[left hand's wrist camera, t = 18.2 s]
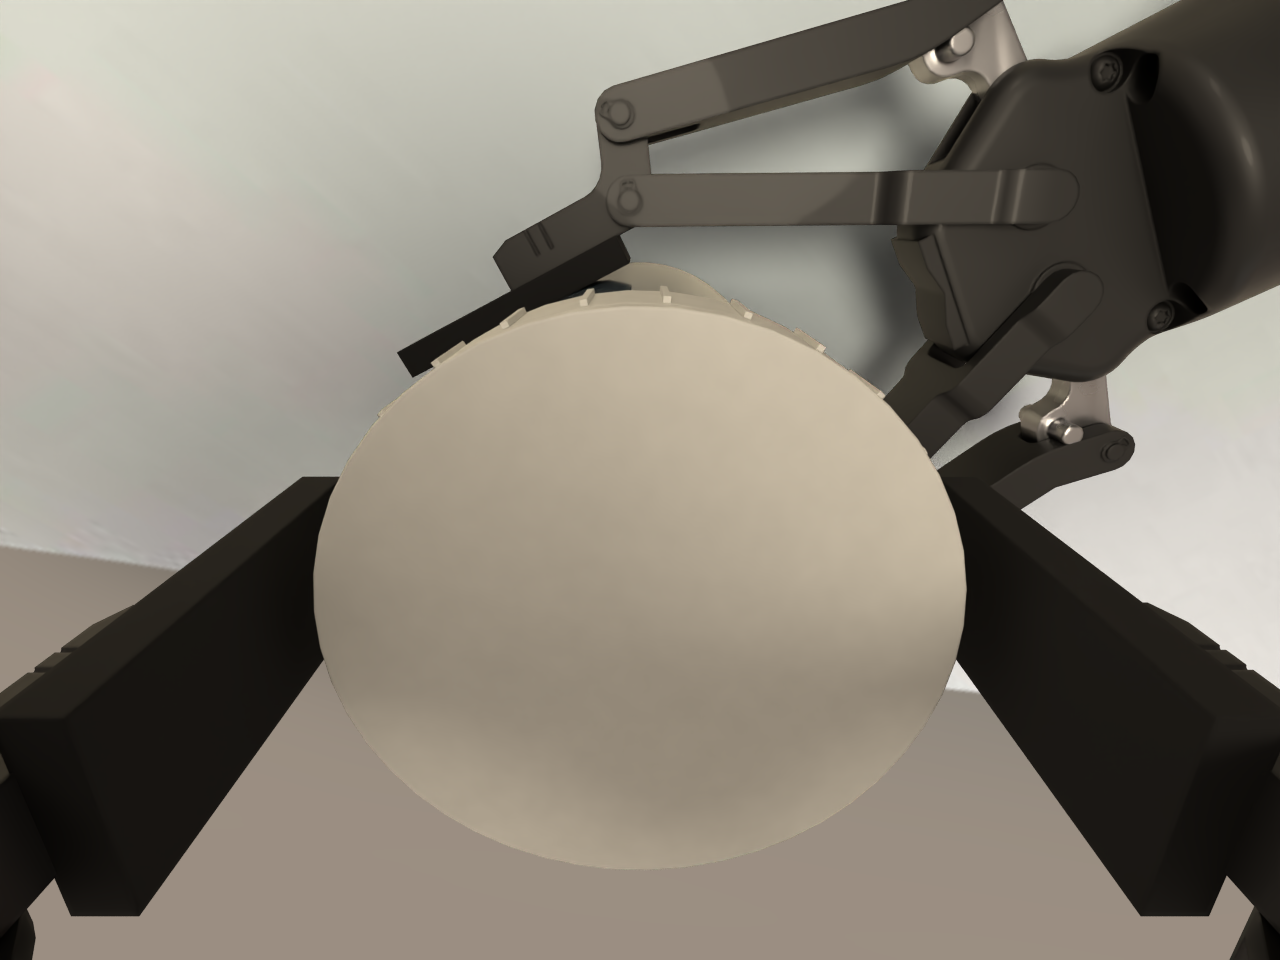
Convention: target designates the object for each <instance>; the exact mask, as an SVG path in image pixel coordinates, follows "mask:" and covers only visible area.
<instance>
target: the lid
mask: <svg viewBox="0 0 1280 960" xmlns="http://www.w3.org/2000/svg"><path fill="white" fill-rule="evenodd" d="M825 349H826V347H825V346H824V345H822V344H821V343H819V342H818V341H816V340H815V339H813V338H812V337H810V336H809V335H807V334H806V333H805V332H803V331H802V330H800V329H798V328H796V329H795V331H794V332H792V331H791V330H789V329H787V328H786V327H784V326H782V325H780V324H778V323H775V322H773V321H771V320H769V319H767V318H765V317H763V316H760V315H758V314H756V313H754V312H752V311H750V310H749V309H747V308H746V307H745V306H744V305H743V304H741V303H740V302H739V301H737V300H734V299H732V300H731V302H730V304H727V303H724V302H721V301H718V300H715V299H711V298H706V297H700V296H694V295H688V294H682V293H676V292H670V291H669V290H668V287H667V286H660V291H638V290H625V291H615V292H606V293H597V294H595V291H594V288H593V289H587V291H586V292H585V293H584V294H583V296H579V297H575V298H571V299H567V300H563V301H559V302H555V303H551V304H547V305H544V306H541V307H539V308H536V309H534V310H531V311H529V312H526V310H525V308H524V307H523V308H521V309H518V310H517V311H516V312H514V313H513V314H512V315H510V316H509V317H507V318H506V319H505V320H503V321H502V322H501V323H500V325H498V326H497V327H495V328H493V329H491V330H490V331H488V332H486V333H484V334H483V335H481V336H479V337H478V338H476V339H474V340H473V341H471V342H470V343H468V344H467V345H466V344H465V343H464V341H462V342H460V343H459V344H457V345H456V346H454V347H453V348H451V349H450V350H448V351H447V352H446V353H444V354H443V355H441V356H440V357H438V358H437V359H435V360H434V361H433V362H431V364H432V365H433V366H434V369H433V370H432V371H430V372H429V373H428V374H427V375H425V376H424V377H423V378H421V379H420V380H419V381H418V382H416V383H415V384H414V385H413V386H411V387H410V388H409V389H407V390H406V391H405V392H404V393H402V394H401V396H400V397H398V398H397V399H396V400H394V401H393V402H392V403H390V404H389V405H387V406H386V407H385V408H383V409H382V410H381V411H380V412H379V413H378V416H379V417H380V418H379V419H378V420H377V421H376V422H375V423H374V424H373V425H372V426H371V428H370V429H369V431H368V432H367V434H366V435H365V436H364V438H363V439H362V441H361V442H360V444H359V445H358V447H357V448H356V449H355V451H354V452H353V454H352V455H351V457H350V458H349V460H348V461H347V463H346V465H345V467H344V470H343V472H342V474H341V476H340V478H339V480H338V482H337V484H336V486H335V488H334V490H333V492H332V494H331V496H330V499H329V502H328V506H327V509H326V512H325V516H324V519H323V522H322V526H321V529H320V532H319V536H318V543H317V551H316V558H315V565H314V572H313V582H314V614H315V620H316V626H317V632H318V638H319V644H320V648H321V652H322V655H323V658H324V661H325V664H326V667H327V670H328V673H329V676H330V679H331V682H332V684H333V686H334V688H335V690H336V692H337V694H338V696H339V698H340V700H341V702H342V704H343V707H344V708H345V711H346V713H347V714H348V716H349V717H350V719H351V720H352V722H353V723H354V725H355V726H356V728H357V729H358V731H359V732H360V734H361V735H362V737H363V738H364V740H365V741H366V743H367V744H368V745H369V747H370V748H371V749H372V750H373V751H374V752H375V753H376V755H377V756H378V757H379V758H380V759H381V760H382V761H383V763H384V764H385V765H386V766H387V767H388V768H389V770H390V771H391V772H393V773H394V774H395V775H396V776H397V777H398V778H399V779H400V780H401V781H402V782H404V783H405V784H406V785H407V786H408V787H409V788H410V789H411V790H412V791H414V792H415V793H416V794H417V795H418V796H420V797H421V798H422V799H424V800H425V801H427V802H428V803H429V804H431V805H432V806H434V807H435V808H436V809H438V810H439V811H441V812H442V813H443V814H445V815H446V816H448V817H450V818H452V819H453V820H455V821H457V822H459V823H460V824H462V825H464V826H466V827H468V828H469V829H471V830H473V831H475V832H476V833H479V834H481V835H483V836H486V837H488V838H490V839H493V840H495V841H497V842H500V843H502V844H504V845H506V846H509V847H512V848H515V849H518V850H521V851H524V852H527V853H530V854H533V855H537V856H540V857H543V858H548V859H552V860H556V861H561V862H566V863H571V864H575V865H581V866H590V867H598V868H607V869H621V870H658V869H671V868H684V867H691V866H697V865H703V864H708V863H714V862H720V861H724V860H728V859H732V858H735V857H739V856H743V855H746V854H750V853H753V852H757V851H759V850H762V849H765V848H767V847H770V846H772V845H775V844H778V843H780V842H783V841H785V840H788V839H790V838H792V837H794V836H796V835H798V834H800V833H802V832H804V831H806V830H808V829H810V828H812V827H814V826H816V825H818V824H820V823H822V822H823V821H825V820H826V819H828V818H829V817H831V816H832V815H834V814H836V813H837V812H839V811H840V810H842V809H843V808H845V807H846V806H848V805H849V804H851V803H852V802H853V801H855V800H856V799H857V798H858V797H860V796H861V795H862V794H863V793H864V792H865V791H867V790H868V789H869V788H870V787H872V786H873V785H874V784H875V783H877V782H878V781H879V780H880V779H881V778H882V777H883V776H884V775H885V774H886V773H887V772H888V771H889V769H890V768H891V767H892V766H893V765H894V764H895V763H896V762H897V761H898V760H899V759H900V758H901V757H902V756H903V755H904V754H905V752H906V751H907V749H908V748H909V747H910V746H911V744H912V743H913V741H914V740H915V739H916V737H917V736H918V735H919V733H920V732H921V731H922V729H923V728H924V727H925V725H926V723H927V722H928V720H929V718H930V716H931V714H932V713H933V711H934V709H935V707H936V705H937V704H938V702H939V700H940V698H941V696H942V695H943V692H944V689H945V687H946V684H947V682H948V679H949V677H950V674H951V672H952V669H953V666H954V664H955V661H956V657H957V653H958V648H959V644H960V640H961V635H962V631H963V627H964V616H965V603H966V591H967V588H966V574H965V561H964V549H963V545H962V541H961V537H960V532H959V528H958V524H957V520H956V515H955V512H954V509H953V507H952V504H951V502H950V499H949V497H948V495H947V492H946V490H945V487H944V485H943V482H942V480H941V477H940V475H939V473H938V472H937V470H936V468H935V467H934V465H933V463H932V462H931V460H930V458H929V457H928V455H927V454H928V453H927V451H926V449H925V448H924V447H923V446H922V445H921V444H920V442H919V440H918V439H917V438H916V436H915V435H914V434H913V433H912V432H911V430H910V429H909V428H908V427H907V426H906V424H905V423H904V422H903V421H902V420H901V419H900V417H899V416H898V415H897V414H896V413H895V411H894V410H893V409H892V408H891V407H890V406H889V405H888V404H887V403H886V402H885V401H884V400H883V398H884V397H885V395H884V394H883V393H882V391H880V390H879V389H877V388H876V387H875V386H873V385H872V384H870V383H869V382H868V381H866V380H865V379H863V378H862V377H861V376H859V375H858V374H856V373H855V372H854V371H852V370H851V369H850V370H849V371H848V370H847V369H846V368H844V367H843V366H842V365H840V364H839V363H837V362H836V361H835V360H833V359H832V358H831V357H829V356H828V355H826V354H825V353H824V351H825Z"/></svg>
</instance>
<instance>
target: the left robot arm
mask: <svg viewBox="0 0 1280 960" xmlns="http://www.w3.org/2000/svg"><path fill="white" fill-rule="evenodd" d="M339 478H340V477H302V478H300V479H299V480H298V481H296V482H295V483H294V484H292V485H291V486H290V487H289V488H287V489H286V490H285V491H283V492H282V493H281V494H279V495H278V496H277V497H275V498H274V499H273V500H271V501H270V502H269V503H268V504H266V505H265V506H264V507H262V508H261V509H260V510H258V511H257V512H256V513H254V514H253V515H252V516H250V517H249V518H248V519H247V520H245V521H244V522H243V523H241V524H240V525H239V526H237V527H236V528H235V529H233V530H232V531H231V532H229V533H228V534H227V535H226V536H224V537H223V538H222V539H220V540H219V541H218V542H216V543H215V544H214V545H212V546H211V547H210V548H208V549H207V550H206V551H205V552H203V553H202V554H201V555H199V556H198V557H197V558H195V559H194V560H193V561H191V562H190V563H189V564H187V565H186V566H185V567H184V568H182V569H181V570H180V571H178V572H177V573H176V574H174V575H173V576H172V577H170V578H169V579H168V580H166V581H165V582H164V583H163V584H161V585H160V586H159V587H157V588H156V589H155V590H153V591H152V592H151V593H149V594H148V595H147V596H145V597H144V598H143V599H142V600H140V601H139V602H138V603H136V604H135V605H132V606H130V607H128V608H126V609H124V610H122V611H120V612H118V613H116V614H114V615H112V616H110V617H107V618H105V619H103V620H101V621H99V622H97V623H95V624H93V625H92V626H90V627H89V628H87V629H86V630H85V631H83V632H82V633H81V634H79V635H78V636H77V637H75V638H74V639H73V640H71V641H70V642H69V643H67V644H66V645H65V646H63V647H62V648H61V652H60V653H54V654H52V655H51V656H50V657H48V658H47V659H46V660H44V661H43V662H42V663H40V664H39V665H38V666H36V667H35V671H34V672H33V673H27V674H25V675H24V676H23V677H21V678H20V679H19V680H17V681H16V682H15V683H13V684H12V685H11V686H9V687H8V688H6V689H5V690H4V691H2V692H1V693H0V960H32V956H33V951H34V945H35V939H36V937H35V931H34V925H33V921H32V919H31V917H30V915H29V913H28V910H27V908H28V907H29V906H30V905H31V904H32V903H33V901H34V900H35V899H36V898H37V897H38V896H39V895H40V894H41V893H42V891H43V890H44V889H45V888H46V887H47V886H48V885H49V883H50V882H51V881H52V880H53V879H54V878H55V880H56V883H57V885H58V887H59V890H60V892H61V894H62V897H63V899H64V901H65V903H66V906H67V908H68V910H69V913H70V915H71V916H140V914H141V913H142V912H143V910H144V909H145V908H146V906H147V905H148V903H149V902H150V900H151V899H152V898H153V896H154V895H155V894H156V892H157V891H158V889H159V888H160V887H161V885H162V884H163V882H164V881H165V880H166V878H167V877H168V876H169V874H170V873H171V871H172V870H173V869H174V867H175V866H176V864H177V863H178V862H179V860H180V859H181V857H182V856H183V854H184V853H185V852H186V850H187V849H188V848H189V846H190V845H191V844H192V842H193V841H194V839H195V838H196V837H197V835H198V834H199V832H200V831H201V830H202V828H203V827H204V825H205V824H206V823H207V821H208V820H209V818H210V817H211V816H212V814H213V813H214V812H215V810H216V809H217V807H218V806H219V805H220V803H221V802H222V800H223V799H224V798H225V796H226V795H227V793H228V792H229V791H230V789H231V788H232V787H233V785H234V784H235V782H236V781H237V780H238V778H239V777H240V775H241V774H242V773H243V771H244V770H245V768H246V767H247V766H248V764H249V763H250V761H251V760H252V759H253V757H254V756H255V755H256V753H257V752H258V750H259V749H260V747H261V746H262V745H263V743H264V742H265V741H266V739H267V738H268V736H269V735H270V734H271V732H272V731H273V729H274V728H275V727H276V725H277V724H278V722H279V721H280V720H281V718H282V717H283V716H284V714H285V713H286V711H287V710H288V709H289V707H290V706H291V704H292V703H293V702H294V700H295V699H296V697H297V696H298V695H299V693H300V692H301V691H302V689H303V688H304V686H305V685H306V684H307V682H308V681H309V679H310V678H311V677H312V675H313V674H314V672H315V671H316V670H317V668H318V667H319V665H320V664H321V663H322V661H323V660H324V658H323V655H322V652H321V648H320V644H319V638H318V632H317V626H316V620H315V614H314V582H313V572H314V565H315V558H316V551H317V543H318V536H319V532H320V529H321V526H322V522H323V519H324V516H325V512H326V509H327V506H328V502H329V499H330V496H331V494H332V492H333V490H334V488H335V486H336V484H337V482H338V480H339ZM941 480H942V482H943V485H944V487H945V490H946V492H947V495H948V497H949V499H950V502H951V504H952V507H953V509H954V512H955V515H956V520H957V524H958V528H959V532H960V537H961V541H962V545H963V549H964V561H965V574H966V588H967V591H966V603H965V616H964V627H963V631H962V635H961V640H960V644H959V648H958V653H957V657H956V660H957V661H958V663H959V664H960V665H961V667H962V668H963V670H964V671H965V672H966V674H967V675H968V677H969V678H970V679H971V681H972V682H973V684H974V685H975V686H976V688H977V689H978V691H979V692H980V693H981V695H982V696H983V697H984V699H985V700H986V702H987V703H988V704H989V706H990V707H991V709H992V710H993V711H994V713H995V714H996V716H997V717H998V718H999V720H1000V721H1001V723H1002V724H1003V725H1004V727H1005V728H1006V729H1007V731H1008V732H1009V734H1010V735H1011V736H1012V738H1013V739H1014V741H1015V742H1016V743H1017V745H1018V746H1019V747H1020V749H1021V750H1022V752H1023V753H1024V755H1025V756H1026V757H1027V759H1028V760H1029V761H1030V763H1031V764H1032V766H1033V767H1034V768H1035V770H1036V771H1037V773H1038V774H1039V775H1040V777H1041V778H1042V780H1043V781H1044V782H1045V784H1046V785H1047V786H1048V788H1049V789H1050V791H1051V792H1052V793H1053V795H1054V796H1055V798H1056V799H1057V800H1058V802H1059V803H1060V805H1061V806H1062V807H1063V809H1064V810H1065V812H1066V813H1067V814H1068V816H1069V817H1070V818H1071V820H1072V821H1073V823H1074V824H1075V825H1076V827H1077V828H1078V830H1079V831H1080V832H1081V834H1082V835H1083V837H1084V838H1085V839H1086V841H1087V842H1088V844H1089V845H1090V846H1091V848H1092V849H1093V850H1094V852H1095V853H1096V855H1097V856H1098V857H1099V859H1100V860H1101V862H1102V863H1103V864H1104V866H1105V867H1106V869H1107V870H1108V871H1109V873H1110V874H1111V876H1112V877H1113V878H1114V880H1115V881H1116V882H1117V884H1118V885H1119V887H1120V888H1121V889H1122V891H1123V892H1124V894H1125V895H1126V896H1127V898H1128V899H1129V901H1130V902H1131V903H1132V905H1133V906H1134V907H1135V909H1136V910H1137V912H1138V913H1139V914H1140V916H1209V915H1210V913H1211V910H1212V908H1213V906H1214V903H1215V901H1216V899H1217V897H1218V894H1219V892H1220V890H1221V887H1222V885H1223V883H1224V880H1225V878H1226V876H1228V877H1229V878H1230V879H1231V881H1232V882H1233V883H1234V884H1235V885H1236V886H1237V887H1238V888H1239V889H1240V891H1241V892H1242V893H1243V894H1244V895H1245V896H1246V897H1247V898H1248V900H1249V901H1250V902H1251V903H1252V904H1253V905H1254V908H1253V910H1252V913H1251V915H1250V917H1249V919H1248V921H1247V923H1246V926H1245V928H1244V930H1243V932H1242V934H1241V936H1240V938H1239V941H1238V943H1237V945H1236V947H1235V949H1234V951H1233V954H1232V956H1231V958H1230V960H1280V689H1279V688H1277V687H1276V686H1274V685H1273V684H1272V683H1270V682H1269V681H1268V680H1266V679H1265V678H1264V677H1262V676H1261V675H1260V674H1258V673H1257V672H1255V671H1254V670H1247V668H1246V664H1245V663H1243V662H1242V661H1240V660H1239V659H1238V658H1236V657H1235V656H1234V655H1232V654H1231V653H1230V652H1228V651H1227V650H1220V645H1219V644H1217V643H1216V642H1215V641H1213V640H1212V639H1210V638H1209V637H1208V636H1206V635H1205V634H1204V633H1202V632H1201V631H1200V630H1198V629H1197V628H1195V627H1194V626H1193V625H1191V624H1190V623H1189V622H1187V621H1185V620H1183V619H1181V618H1179V617H1176V616H1174V615H1172V614H1170V613H1168V612H1166V611H1164V610H1162V609H1160V608H1158V607H1156V606H1154V605H1151V604H1149V603H1142V602H1141V601H1140V600H1138V599H1137V598H1136V597H1135V596H1133V595H1132V594H1131V593H1129V592H1128V591H1127V590H1125V589H1124V588H1123V587H1121V586H1120V585H1119V584H1117V583H1116V582H1115V581H1114V580H1112V579H1111V578H1110V577H1108V576H1107V575H1106V574H1104V573H1103V572H1102V571H1100V570H1099V569H1098V568H1096V567H1095V566H1094V565H1093V564H1091V563H1090V562H1089V561H1087V560H1086V559H1085V558H1083V557H1082V556H1081V555H1079V554H1078V553H1077V552H1075V551H1074V550H1073V549H1072V548H1070V547H1069V546H1068V545H1066V544H1065V543H1064V542H1062V541H1061V540H1060V539H1058V538H1057V537H1056V536H1054V535H1053V534H1052V533H1051V532H1049V531H1048V530H1047V529H1045V528H1044V527H1043V526H1041V525H1040V524H1039V523H1037V522H1036V521H1035V520H1033V519H1032V518H1031V517H1030V516H1028V515H1027V514H1026V513H1024V512H1023V511H1022V510H1020V509H1019V508H1018V507H1016V506H1015V505H1014V504H1012V503H1011V502H1010V501H1009V500H1007V499H1006V498H1005V497H1003V496H1002V495H1001V494H999V493H998V492H997V491H995V490H994V489H993V488H991V487H990V486H989V485H988V484H986V483H985V482H984V481H982V480H981V479H980V478H978V477H941Z"/></svg>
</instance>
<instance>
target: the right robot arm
mask: <svg viewBox="0 0 1280 960" xmlns="http://www.w3.org/2000/svg"><path fill="white" fill-rule="evenodd" d="M907 64H908V65H909V67H910V69H911V72H912V73H913V75H914V76H915V78H916V79H918V80H919V81H920V82H922V83H925V84H935V83H938V82H941V81H943V80H946V79H959V80H962V81H963V82H965V83H966V84H967V85H968V86H969V88H970V89H971V91H972V93H971V94H970V96H969V97H968V99H967V101H966V102H965V104H964V105H963V107H962V109H961V110H960V112H959V114H958V115H957V117H956V119H955V120H954V122H953V123H952V125H951V127H950V128H949V130H948V132H947V133H946V135H945V137H944V138H943V140H942V142H941V143H940V145H939V146H938V148H937V150H936V151H935V153H934V155H933V156H932V158H931V159H930V161H929V163H928V164H927V166H926V168H925V169H924V170H905V171H888V172H818V173H709V174H651V168H650V158H649V148H648V145H651V144H654V143H658V142H662V141H665V140H669V139H672V138H676V137H679V136H683V135H686V134H690V133H694V132H697V131H701V130H704V129H708V128H711V127H715V126H719V125H722V124H726V123H729V122H733V121H736V120H740V119H743V118H747V117H751V116H754V115H758V114H761V113H765V112H768V111H772V110H775V109H779V108H783V107H786V106H790V105H793V104H797V103H800V102H804V101H808V100H811V99H815V98H818V97H822V96H825V95H829V94H832V93H836V92H840V91H843V90H847V89H850V88H854V87H857V86H861V85H864V84H867V83H870V82H872V81H875V80H878V79H880V78H882V77H885V76H887V75H889V74H891V73H893V72H895V71H897V70H898V69H900V68H902V67H904V66H905V65H907ZM595 121H596V123H597V132H598V140H599V148H600V156H601V174H600V179H599V181H598V183H597V185H596V187H595V188H594V189H593V190H592V192H591V193H589V194H588V195H587V196H585V197H584V198H582V199H580V200H578V201H576V202H575V203H573V204H571V205H569V206H567V207H566V208H564V209H562V210H560V211H558V212H556V213H555V214H553V215H551V216H549V217H547V218H546V219H544V220H542V221H540V222H539V223H536V224H535V225H533V226H531V227H529V228H527V229H526V230H524V231H522V232H520V233H518V234H516V235H515V236H513V237H511V238H509V239H507V240H506V241H505V242H504V243H503V244H502V246H501V247H500V248H499V250H498V251H497V252H496V253H495V255H494V256H493V258H494V260H495V262H496V264H497V266H498V268H499V269H500V271H501V273H502V275H503V277H504V278H505V280H506V282H507V284H508V286H509V288H510V289H511V291H510V292H508V293H506V294H505V295H503V296H501V297H499V298H497V299H495V300H493V301H492V302H490V303H488V304H486V305H484V306H482V307H480V308H478V309H477V310H475V311H473V312H471V313H469V314H467V315H465V316H464V317H462V318H460V319H458V320H456V321H454V322H452V323H450V324H449V325H447V326H445V327H443V328H441V329H439V330H437V331H436V332H434V333H432V334H430V335H428V336H426V337H424V338H423V339H421V340H419V341H417V342H415V343H413V344H412V345H410V346H408V347H406V348H404V349H402V350H401V351H399V352H397V354H398V355H399V357H400V358H401V360H402V362H403V363H404V365H405V366H406V368H407V369H408V371H409V373H410V374H411V376H412V377H415V376H417V375H419V374H420V373H422V372H424V371H426V370H428V369H430V368H432V367H434V366H433V365H432V364H431V362H433V361H434V360H435V359H437V358H438V357H440V356H441V355H443V354H444V353H446V352H447V351H448V350H450V349H451V348H453V347H454V346H456V345H457V344H459V343H460V342H462V341H464V343H465V344H466V345H467V344H468V343H470V342H471V341H473V340H474V339H476V338H478V337H479V336H481V335H483V334H484V333H486V332H488V331H490V330H491V329H493V328H495V327H497V326H498V325H500V323H501V322H502V321H503V320H505V319H506V318H507V317H509V316H510V315H512V314H513V313H514V312H516V311H517V310H518V309H521V308H523V307H524V308H525V310H526V312H529V311H531V310H534V309H536V308H539V307H541V306H544V305H547V304H551V303H555V302H557V301H559V300H561V299H563V298H565V297H567V296H569V295H571V294H573V293H574V292H576V291H578V290H580V289H582V288H584V287H586V286H588V285H590V284H592V283H593V282H595V281H597V280H599V279H601V278H603V277H605V276H607V275H609V274H611V273H612V272H614V271H616V270H618V269H620V268H622V267H624V266H626V265H628V264H629V263H630V256H629V254H628V252H627V249H626V247H625V245H624V243H623V241H622V239H621V237H620V235H621V234H623V233H625V232H626V231H628V230H630V229H632V228H634V227H681V226H793V225H897V237H895V238H893V239H891V241H892V244H893V247H894V250H895V253H896V256H897V259H898V262H899V265H900V266H901V267H902V269H903V270H904V272H905V273H906V274H907V276H908V277H909V279H910V280H911V281H912V283H913V284H914V286H915V289H916V306H917V316H918V319H919V322H920V325H921V328H922V331H923V334H924V337H925V339H928V341H927V342H926V343H925V344H924V345H923V346H922V347H921V348H920V349H919V350H918V352H917V353H916V354H915V355H914V356H913V357H912V358H911V360H910V361H909V362H908V364H907V366H906V368H905V374H904V376H903V378H902V379H901V380H900V381H899V382H898V383H897V385H896V386H895V387H894V388H893V389H892V390H891V391H890V392H889V393H888V394H887V396H886V397H885V398H884V399H883V400H884V401H885V402H886V403H887V404H888V405H889V406H890V407H891V408H892V409H893V410H894V411H895V413H896V414H897V415H898V416H899V417H900V419H901V420H902V421H903V422H904V423H905V424H906V426H907V427H908V428H909V429H910V430H911V432H912V433H913V434H914V435H915V436H916V438H917V439H918V440H919V442H920V444H921V445H922V446H923V447H924V448H925V449H926V451H927V453H928V454H927V455H928V457H929V458H931V457H932V456H933V455H934V454H935V453H936V452H937V451H938V450H939V449H940V448H941V447H942V446H943V445H944V444H945V443H946V442H947V441H948V440H949V439H950V438H951V437H952V436H953V435H954V434H955V433H956V432H957V430H958V429H959V428H960V427H961V426H962V425H963V424H965V423H966V422H968V421H969V420H973V419H976V418H980V417H982V416H983V415H985V414H987V413H988V412H989V411H990V410H991V409H992V408H993V407H994V406H995V405H996V404H997V403H998V402H999V401H1000V400H1001V399H1002V398H1003V397H1004V396H1005V395H1006V394H1007V393H1008V392H1009V391H1010V390H1011V389H1012V388H1013V387H1014V386H1015V385H1016V384H1017V383H1018V382H1019V381H1020V380H1021V379H1022V378H1023V377H1024V376H1025V374H1027V375H1033V376H1039V377H1045V378H1051V379H1052V384H1051V387H1050V390H1049V391H1048V393H1047V394H1046V395H1045V396H1044V397H1043V398H1042V399H1041V400H1039V401H1037V402H1036V403H1034V404H1032V405H1031V404H1029V405H1026V406H1024V407H1023V408H1022V409H1021V410H1020V412H1019V418H1020V420H1021V422H1018V423H1015V424H1013V425H1010V426H1007V427H1005V428H1003V429H1001V430H999V431H997V432H995V433H993V434H991V435H990V436H988V437H986V438H985V439H983V440H981V441H980V442H978V443H977V444H975V445H974V446H972V447H971V448H969V449H968V450H966V451H965V452H963V453H962V454H961V455H959V456H958V457H956V458H955V459H953V460H952V461H950V462H949V463H947V464H946V465H944V466H943V467H941V468H940V469H938V470H937V472H938V473H939V475H940V477H978V478H980V479H981V480H982V481H984V482H985V483H986V484H988V485H989V486H990V487H991V488H993V489H994V490H995V491H997V492H998V493H999V494H1001V495H1002V496H1003V497H1005V498H1006V499H1007V500H1009V501H1010V502H1011V503H1012V504H1014V505H1015V506H1016V507H1018V508H1019V509H1020V510H1021V509H1022V508H1024V507H1025V506H1027V505H1029V504H1030V503H1032V502H1033V501H1035V500H1036V499H1038V498H1040V497H1041V496H1043V495H1044V494H1046V493H1047V492H1049V491H1051V490H1052V489H1054V488H1055V487H1059V486H1062V485H1065V484H1069V483H1072V482H1075V481H1079V480H1082V479H1086V478H1089V477H1092V476H1096V475H1099V474H1102V473H1106V472H1109V471H1112V470H1115V469H1118V468H1120V467H1122V466H1123V465H1125V464H1126V463H1127V462H1128V461H1129V460H1130V458H1131V457H1132V455H1133V453H1134V448H1135V443H1134V440H1133V437H1132V436H1131V435H1130V434H1129V433H1127V432H1125V431H1123V430H1121V429H1118V428H1116V427H1114V426H1112V425H1111V422H1110V411H1109V401H1108V391H1107V381H1106V375H1107V374H1108V373H1110V372H1111V371H1113V370H1114V369H1115V368H1117V367H1118V366H1119V365H1120V364H1121V363H1122V362H1123V360H1124V359H1125V358H1126V357H1127V356H1128V355H1129V354H1130V353H1131V352H1132V351H1133V350H1134V349H1135V348H1137V347H1138V346H1139V345H1140V344H1141V343H1143V342H1144V341H1146V340H1147V339H1149V338H1150V337H1152V336H1154V335H1157V334H1159V333H1162V332H1165V331H1168V330H1171V329H1174V328H1177V327H1180V326H1183V325H1186V324H1189V323H1192V322H1195V321H1198V320H1200V319H1203V318H1206V317H1208V316H1211V315H1213V314H1215V313H1217V312H1220V311H1222V310H1224V309H1226V308H1229V307H1231V306H1233V305H1235V304H1238V303H1240V302H1242V301H1244V300H1247V299H1249V298H1251V297H1253V296H1256V295H1258V294H1260V293H1262V292H1265V291H1267V290H1269V289H1271V288H1274V287H1276V286H1278V285H1280V0H1181V1H1179V2H1177V3H1175V4H1173V5H1171V6H1169V7H1167V8H1165V9H1163V10H1161V11H1159V12H1157V13H1155V14H1154V15H1152V16H1150V17H1148V18H1146V19H1144V20H1142V21H1140V22H1138V23H1136V24H1134V25H1132V26H1130V27H1129V28H1127V29H1125V30H1123V31H1121V32H1119V33H1117V34H1115V35H1113V36H1111V37H1109V38H1107V39H1105V40H1104V41H1102V42H1100V43H1098V44H1096V45H1094V46H1092V47H1090V48H1088V49H1086V50H1084V51H1082V52H1080V53H1078V54H1077V55H1075V56H1073V57H1070V58H1068V59H1062V60H1047V59H1033V60H1027V58H1026V56H1025V53H1024V51H1023V48H1022V46H1021V44H1020V41H1019V39H1018V36H1017V34H1016V31H1015V29H1014V26H1013V24H1012V22H1011V19H1010V17H1009V14H1008V12H1007V9H1006V7H1005V4H1004V2H1003V0H907V1H904V2H900V3H897V4H893V5H890V6H886V7H883V8H879V9H876V10H872V11H869V12H866V13H862V14H859V15H855V16H852V17H848V18H845V19H841V20H838V21H835V22H831V23H828V24H824V25H821V26H817V27H814V28H810V29H807V30H804V31H800V32H797V33H793V34H790V35H786V36H783V37H779V38H776V39H773V40H769V41H766V42H762V43H759V44H755V45H752V46H748V47H745V48H742V49H738V50H735V51H731V52H728V53H724V54H721V55H717V56H714V57H711V58H707V59H704V60H700V61H697V62H693V63H690V64H686V65H683V66H680V67H676V68H673V69H669V70H666V71H662V72H659V73H655V74H652V75H649V76H645V77H642V78H638V79H635V80H631V81H628V82H624V83H621V84H618V85H614V86H612V87H610V88H608V89H606V90H605V91H604V92H603V93H602V94H601V96H600V97H599V98H598V100H597V104H596V107H595ZM965 363H966V364H965Z"/></svg>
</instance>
